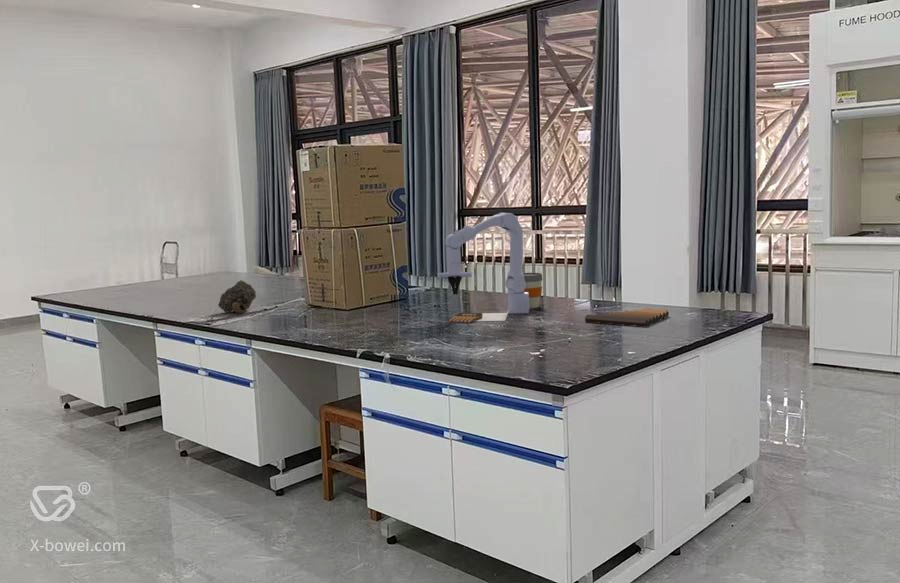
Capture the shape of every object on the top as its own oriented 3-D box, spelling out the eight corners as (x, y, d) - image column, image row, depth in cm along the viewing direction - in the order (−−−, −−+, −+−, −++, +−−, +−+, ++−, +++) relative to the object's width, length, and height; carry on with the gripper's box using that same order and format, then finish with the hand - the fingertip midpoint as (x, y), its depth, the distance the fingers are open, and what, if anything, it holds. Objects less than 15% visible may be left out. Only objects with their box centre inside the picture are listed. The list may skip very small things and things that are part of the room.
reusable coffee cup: (545, 308, 333) (544, 275, 331) (517, 309, 333) (516, 276, 331) (541, 303, 346) (540, 272, 344) (514, 305, 346) (513, 273, 344)
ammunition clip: (460, 317, 318) (447, 323, 308) (459, 312, 318) (446, 319, 307) (482, 317, 313) (470, 324, 303) (482, 313, 313) (469, 319, 302)
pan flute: (584, 323, 296) (644, 328, 281) (584, 315, 296) (644, 319, 281) (611, 313, 316) (668, 317, 301) (611, 305, 315) (668, 309, 300)
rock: (235, 275, 368) (244, 272, 355) (257, 294, 373) (267, 292, 360) (211, 303, 360) (220, 301, 347) (234, 322, 365) (243, 320, 353)
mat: (508, 313, 323) (508, 312, 323) (504, 321, 306) (504, 320, 306) (479, 314, 325) (479, 313, 325) (474, 321, 308) (474, 320, 308)
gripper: (472, 261, 317) (473, 292, 319) (439, 262, 320) (440, 293, 321) (470, 262, 310) (471, 294, 312) (436, 263, 313) (437, 295, 315)
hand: (455, 294), depth 316 cm, fingers closed
